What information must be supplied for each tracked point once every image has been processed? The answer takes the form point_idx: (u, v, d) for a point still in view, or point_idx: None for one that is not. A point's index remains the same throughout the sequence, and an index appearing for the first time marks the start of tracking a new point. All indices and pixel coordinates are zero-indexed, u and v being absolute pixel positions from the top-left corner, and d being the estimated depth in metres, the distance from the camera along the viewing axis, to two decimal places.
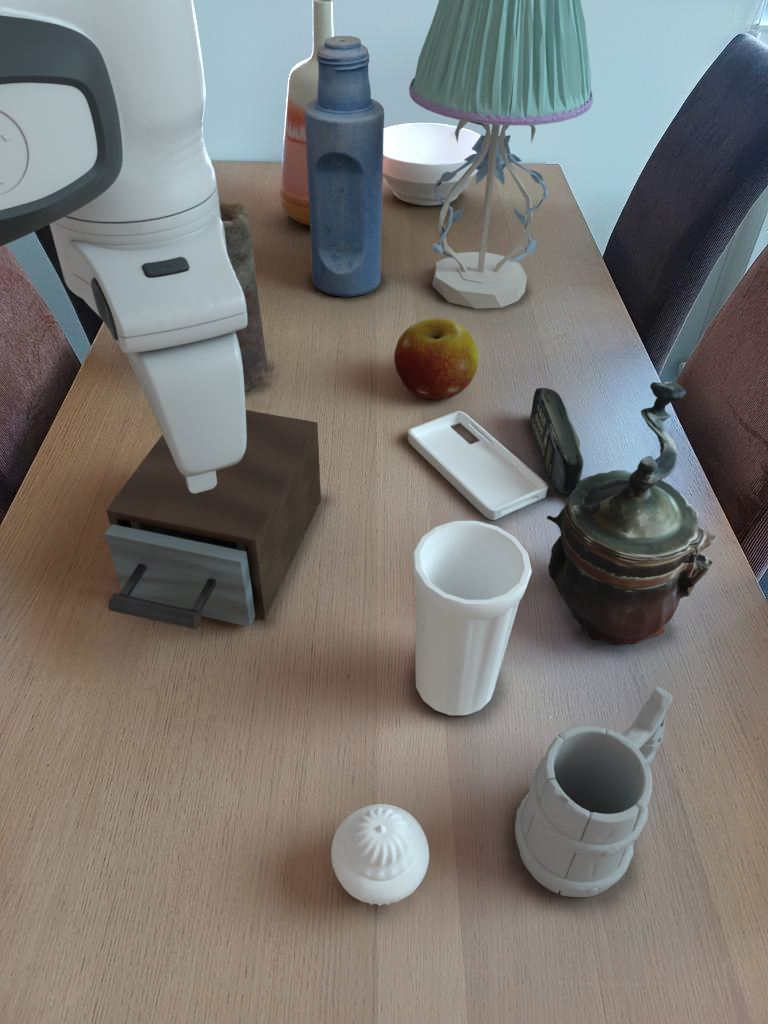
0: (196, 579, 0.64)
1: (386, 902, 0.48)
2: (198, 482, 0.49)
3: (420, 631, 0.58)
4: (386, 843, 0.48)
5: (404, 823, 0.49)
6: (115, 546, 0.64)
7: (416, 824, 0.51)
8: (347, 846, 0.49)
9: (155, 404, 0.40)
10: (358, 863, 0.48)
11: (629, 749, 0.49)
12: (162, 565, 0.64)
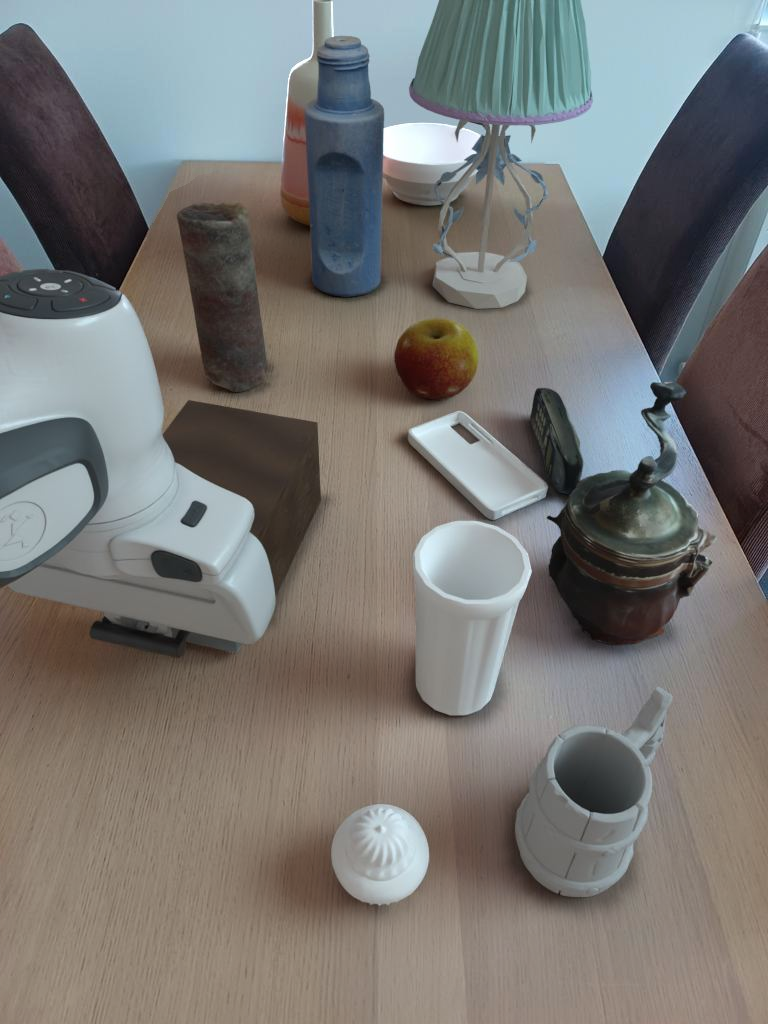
0: None
1: (386, 902, 0.48)
2: None
3: (420, 631, 0.58)
4: (386, 843, 0.48)
5: (404, 823, 0.49)
6: None
7: (416, 824, 0.51)
8: (347, 846, 0.49)
9: (239, 606, 0.52)
10: (358, 863, 0.48)
11: (629, 749, 0.49)
12: None
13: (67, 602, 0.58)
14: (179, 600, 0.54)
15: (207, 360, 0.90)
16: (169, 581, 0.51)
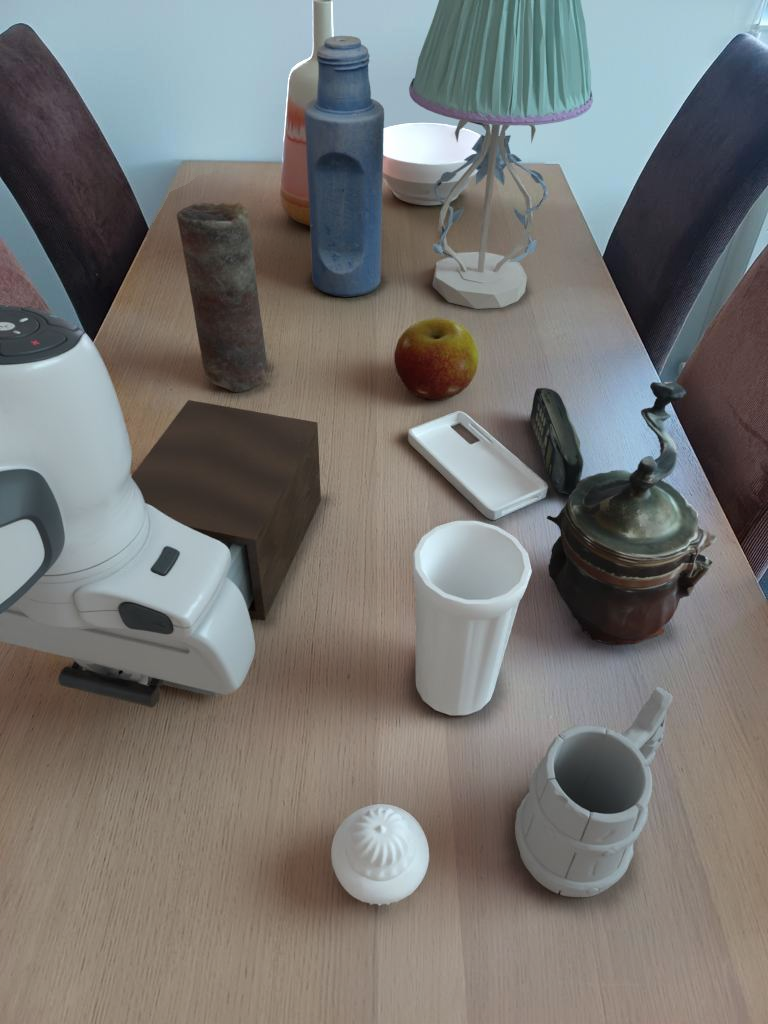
0: None
1: (386, 902, 0.48)
2: None
3: (420, 631, 0.58)
4: (386, 843, 0.48)
5: (404, 823, 0.49)
6: None
7: (416, 824, 0.51)
8: (347, 846, 0.49)
9: (214, 657, 0.49)
10: (358, 863, 0.48)
11: (629, 749, 0.49)
12: None
13: (35, 648, 0.55)
14: (152, 649, 0.51)
15: (207, 360, 0.90)
16: (139, 632, 0.48)
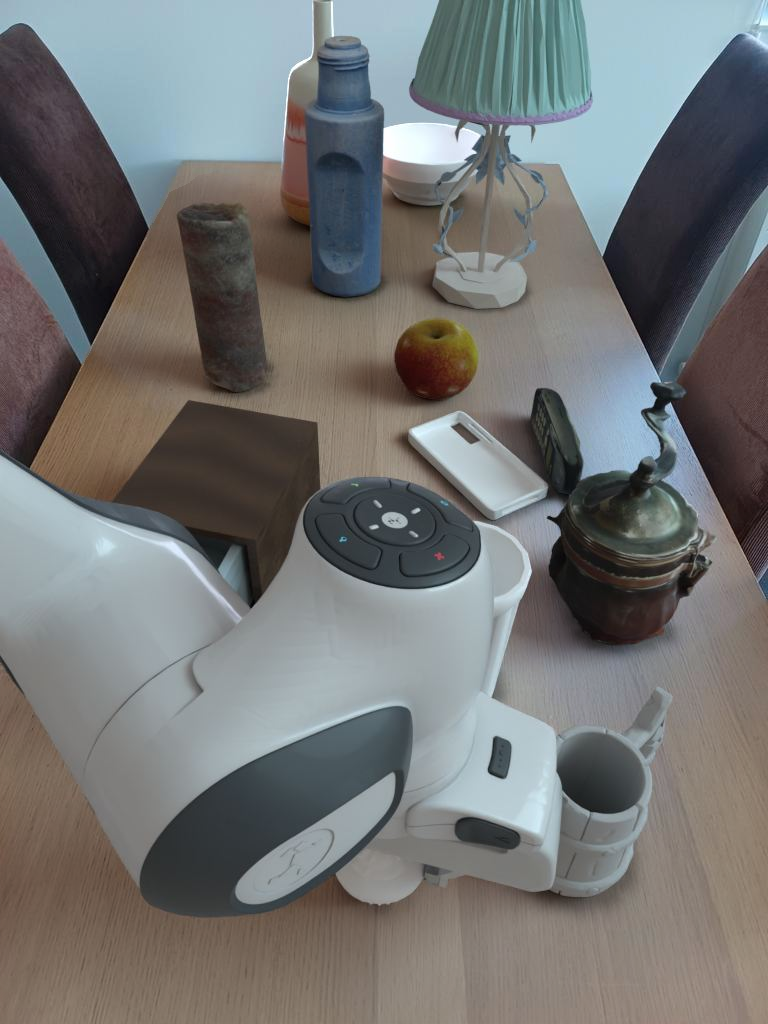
0: None
1: (386, 902, 0.48)
2: None
3: None
4: None
5: None
6: None
7: None
8: None
9: (547, 865, 0.41)
10: (358, 863, 0.48)
11: (629, 749, 0.49)
12: None
13: None
14: (456, 846, 0.43)
15: (207, 360, 0.90)
16: None
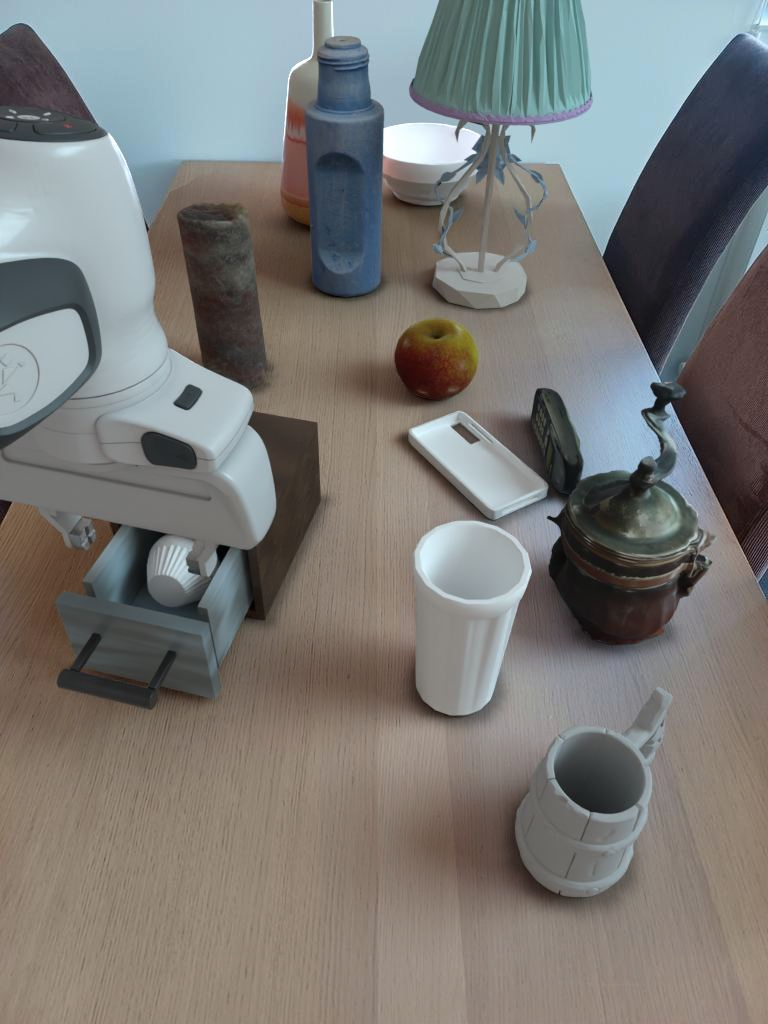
0: (155, 650, 0.59)
1: (194, 539, 0.64)
2: (210, 565, 0.56)
3: (420, 631, 0.58)
4: None
5: None
6: (66, 615, 0.58)
7: None
8: None
9: (237, 500, 0.48)
10: None
11: (629, 749, 0.49)
12: (118, 635, 0.59)
13: (52, 507, 0.54)
14: (173, 499, 0.50)
15: (207, 360, 0.90)
16: (161, 472, 0.47)
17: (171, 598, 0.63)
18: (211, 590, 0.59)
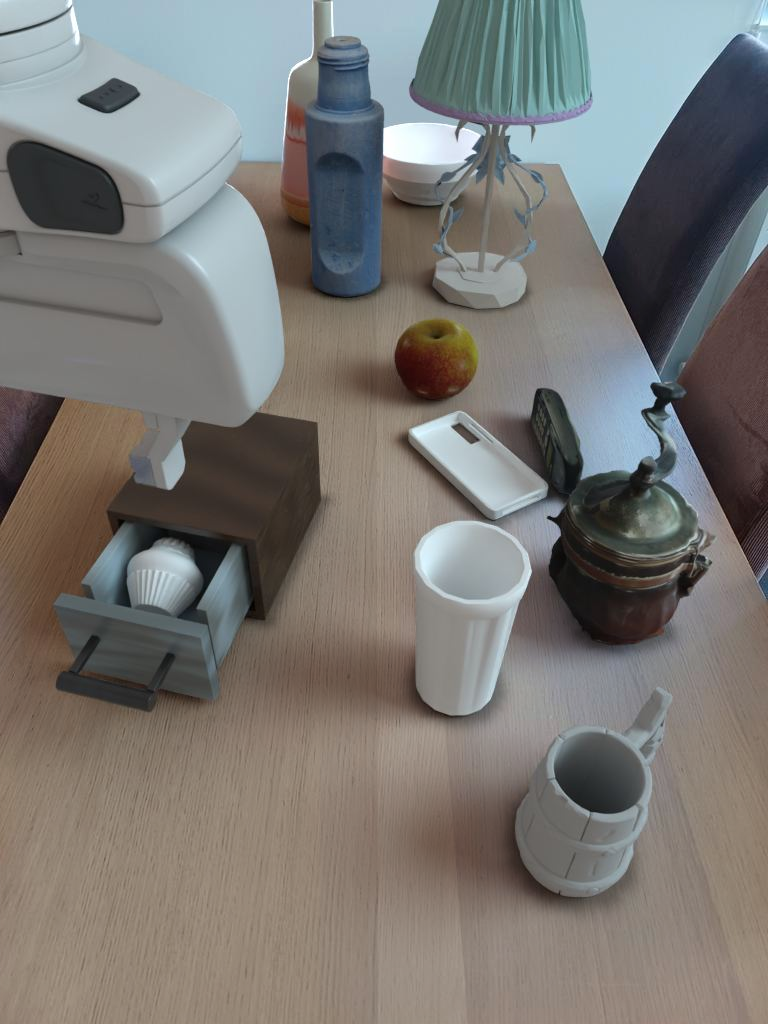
0: (154, 653, 0.59)
1: (156, 556, 0.62)
2: (172, 469, 0.33)
3: (420, 631, 0.58)
4: None
5: (193, 554, 0.66)
6: (65, 617, 0.58)
7: None
8: None
9: (210, 313, 0.25)
10: (149, 549, 0.65)
11: (629, 749, 0.49)
12: (117, 637, 0.58)
13: None
14: (93, 325, 0.27)
15: None
16: (60, 251, 0.24)
17: None
18: (210, 592, 0.59)
